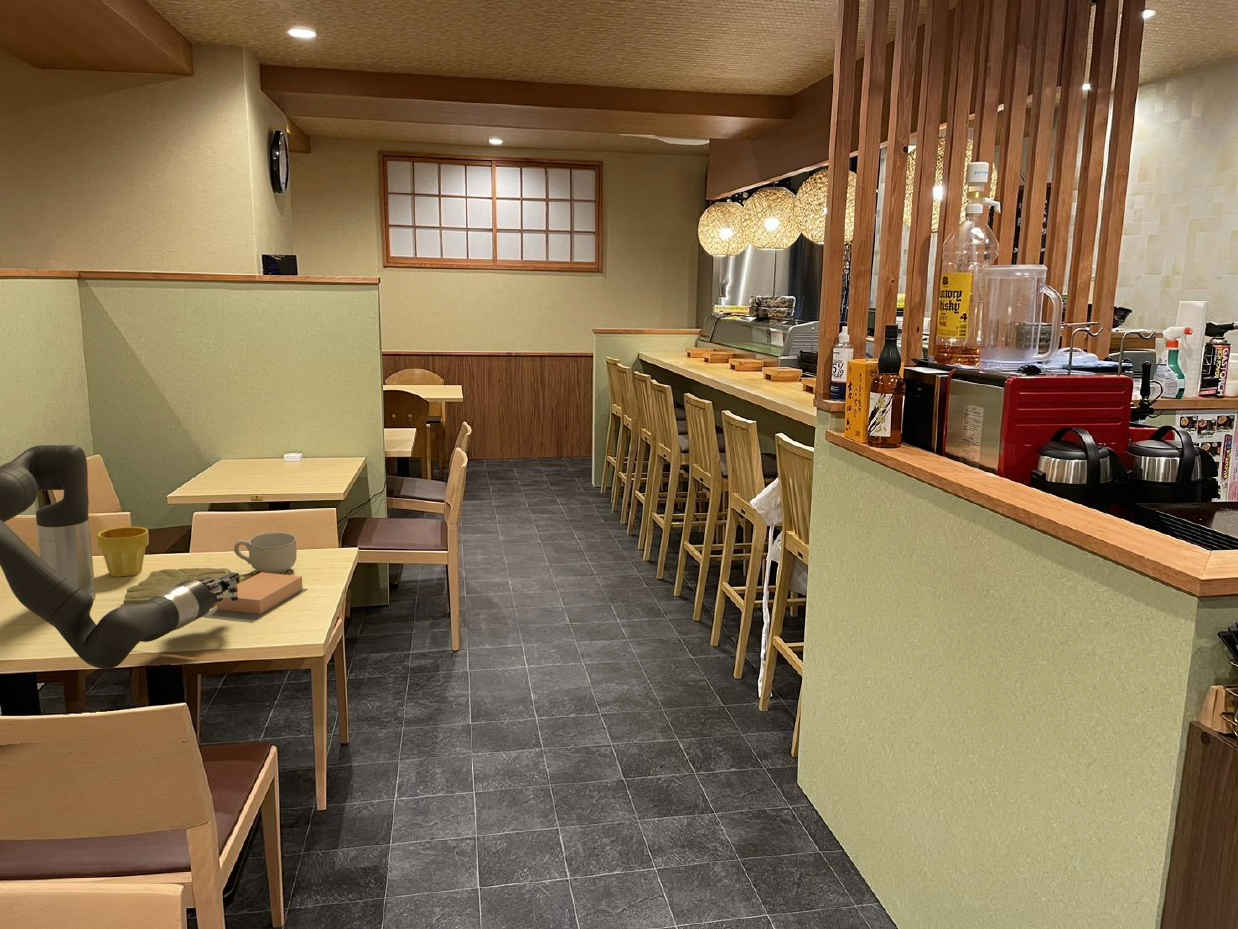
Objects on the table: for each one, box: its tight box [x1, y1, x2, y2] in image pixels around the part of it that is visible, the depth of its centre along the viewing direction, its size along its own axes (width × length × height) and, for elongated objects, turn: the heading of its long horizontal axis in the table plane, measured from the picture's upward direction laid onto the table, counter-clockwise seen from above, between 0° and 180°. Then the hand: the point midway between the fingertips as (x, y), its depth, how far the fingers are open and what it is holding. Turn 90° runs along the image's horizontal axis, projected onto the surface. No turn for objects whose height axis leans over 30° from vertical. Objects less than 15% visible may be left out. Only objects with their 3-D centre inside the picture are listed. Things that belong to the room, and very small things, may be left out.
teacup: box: [233, 532, 298, 574], centre depth 210 cm, size 14×11×8 cm
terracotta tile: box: [216, 572, 304, 614], centre depth 191 cm, size 10×3×16 cm
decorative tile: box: [123, 567, 232, 607], centre depth 193 cm, size 19×20×4 cm
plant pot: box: [96, 526, 150, 578], centre depth 206 cm, size 10×10×10 cm
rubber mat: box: [201, 588, 309, 624], centre depth 189 cm, size 12×21×1 cm, turn 169°
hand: (236, 577), depth 182 cm, fingers closed
